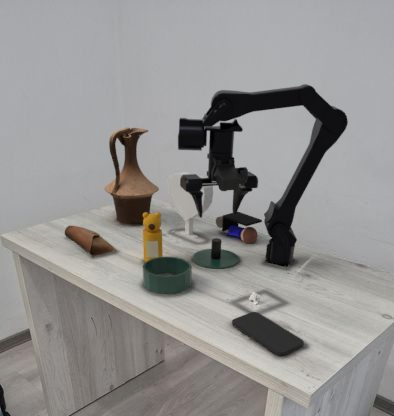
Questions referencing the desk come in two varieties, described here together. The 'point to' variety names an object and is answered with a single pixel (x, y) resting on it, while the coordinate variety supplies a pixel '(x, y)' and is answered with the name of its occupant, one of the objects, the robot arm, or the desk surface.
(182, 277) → the pot
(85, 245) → the sunglasses case
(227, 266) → the pot lid
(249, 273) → the desk surface
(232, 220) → the figurine character
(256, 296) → the adhesive hook
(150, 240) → the toy
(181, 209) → the heart sculpture
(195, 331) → the desk surface
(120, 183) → the pitcher
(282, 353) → the phone
